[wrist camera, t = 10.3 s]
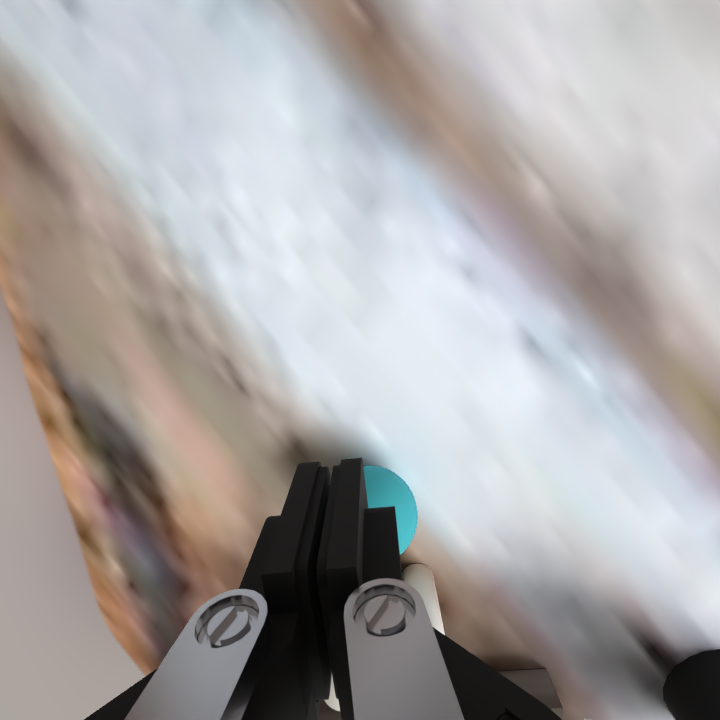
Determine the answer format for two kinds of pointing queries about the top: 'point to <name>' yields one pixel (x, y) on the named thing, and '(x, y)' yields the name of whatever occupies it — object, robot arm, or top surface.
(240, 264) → the top surface
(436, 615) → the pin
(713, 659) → the wine bottle
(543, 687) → the back wall
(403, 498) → the ball
